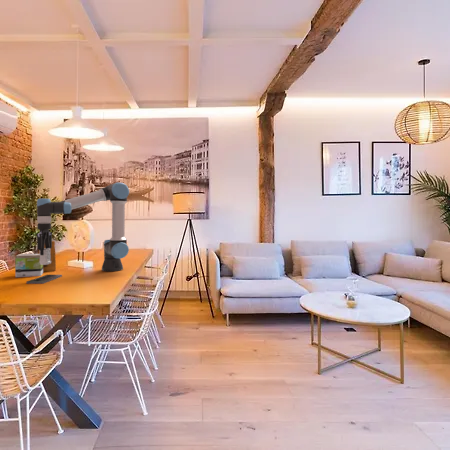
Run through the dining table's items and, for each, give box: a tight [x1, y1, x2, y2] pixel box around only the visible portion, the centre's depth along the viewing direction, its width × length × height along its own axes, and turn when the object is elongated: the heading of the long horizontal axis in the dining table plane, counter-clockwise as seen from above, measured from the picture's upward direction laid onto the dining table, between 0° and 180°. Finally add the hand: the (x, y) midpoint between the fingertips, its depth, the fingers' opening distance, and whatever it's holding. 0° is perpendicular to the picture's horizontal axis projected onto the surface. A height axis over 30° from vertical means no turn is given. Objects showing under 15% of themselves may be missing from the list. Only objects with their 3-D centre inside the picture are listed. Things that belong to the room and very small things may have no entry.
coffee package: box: [36, 240, 57, 273], centre depth 235 cm, size 10×12×22 cm
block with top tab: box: [39, 248, 52, 265], centre depth 202 cm, size 4×7×10 cm, turn 89°
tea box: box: [14, 253, 44, 278], centre depth 217 cm, size 15×10×15 cm
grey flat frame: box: [26, 274, 63, 285], centre depth 203 cm, size 22×10×2 cm, turn 179°
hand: (45, 259), depth 202 cm, fingers closed on block with top tab, 4 cm apart
